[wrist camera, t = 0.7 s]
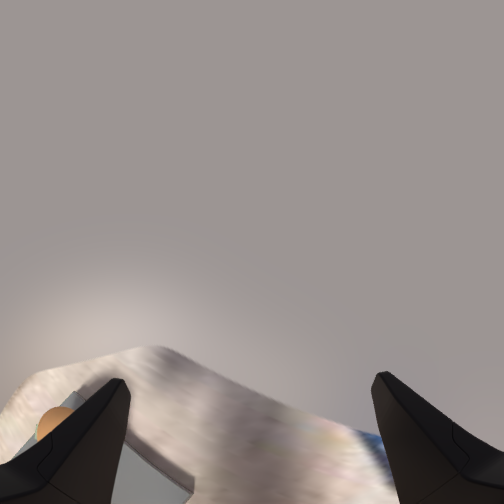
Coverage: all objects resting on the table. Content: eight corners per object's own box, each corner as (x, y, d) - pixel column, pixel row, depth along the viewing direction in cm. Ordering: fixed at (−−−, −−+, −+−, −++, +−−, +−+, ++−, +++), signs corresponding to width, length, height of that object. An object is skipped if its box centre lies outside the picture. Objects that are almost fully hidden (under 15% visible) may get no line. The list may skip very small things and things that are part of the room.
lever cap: (59, 411, 16) (22, 386, 13) (110, 422, 16) (76, 401, 13) (51, 531, 7) (9, 529, 4) (107, 553, 7) (70, 563, 4)
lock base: (108, 577, 6) (86, 586, 4) (10, 469, 12) (-17, 459, 9) (193, 493, 15) (182, 495, 12) (79, 393, 20) (57, 376, 18)
